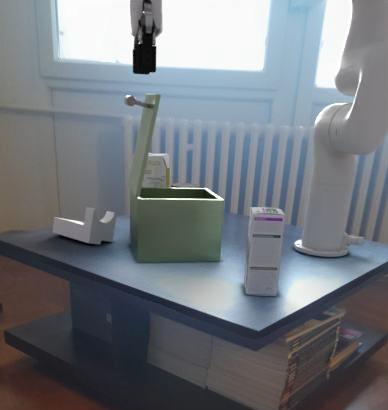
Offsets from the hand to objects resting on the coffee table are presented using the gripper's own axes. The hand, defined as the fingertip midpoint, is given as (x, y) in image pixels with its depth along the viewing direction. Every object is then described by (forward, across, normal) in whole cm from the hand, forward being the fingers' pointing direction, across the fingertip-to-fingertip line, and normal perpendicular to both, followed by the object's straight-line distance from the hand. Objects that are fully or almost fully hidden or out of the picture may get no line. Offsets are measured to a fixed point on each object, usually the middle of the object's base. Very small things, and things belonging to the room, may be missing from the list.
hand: (143, 73), depth 92 cm
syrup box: (+35, -22, -19) cm, 45 cm away
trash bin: (+35, +3, -7) cm, 36 cm away
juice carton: (+35, +20, -4) cm, 40 cm away
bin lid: (+12, +3, -1) cm, 13 cm away
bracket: (+35, +16, +12) cm, 40 cm away
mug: (+35, +33, -14) cm, 50 cm away
